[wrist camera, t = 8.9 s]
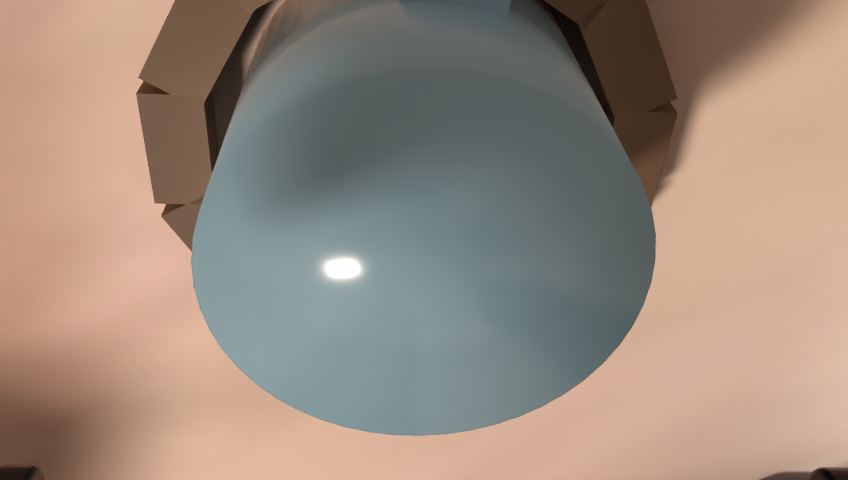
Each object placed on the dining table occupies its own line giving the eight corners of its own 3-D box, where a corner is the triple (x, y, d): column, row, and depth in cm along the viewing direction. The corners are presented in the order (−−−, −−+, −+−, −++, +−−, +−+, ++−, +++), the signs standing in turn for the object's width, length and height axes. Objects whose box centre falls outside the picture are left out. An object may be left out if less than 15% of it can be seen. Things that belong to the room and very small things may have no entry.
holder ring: (720, -115, 13) (738, -105, 12) (603, 328, 19) (610, 350, 18) (111, -150, 12) (95, -141, 12) (186, 321, 18) (179, 345, 18)
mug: (531, 258, 18) (582, 448, 13) (243, 228, 17) (194, 420, 12) (715, -354, 11) (937, -383, 7) (263, -452, 10) (175, -560, 6)
